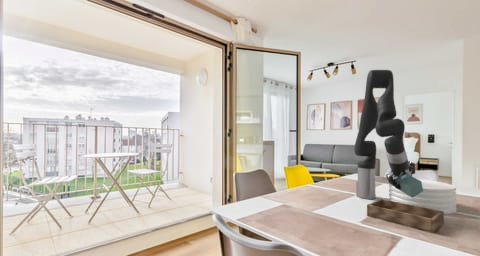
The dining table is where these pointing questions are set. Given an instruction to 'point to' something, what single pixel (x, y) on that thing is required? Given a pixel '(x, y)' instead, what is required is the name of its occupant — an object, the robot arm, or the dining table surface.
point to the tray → (406, 215)
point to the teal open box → (410, 185)
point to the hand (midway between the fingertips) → (404, 185)
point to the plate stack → (429, 196)
